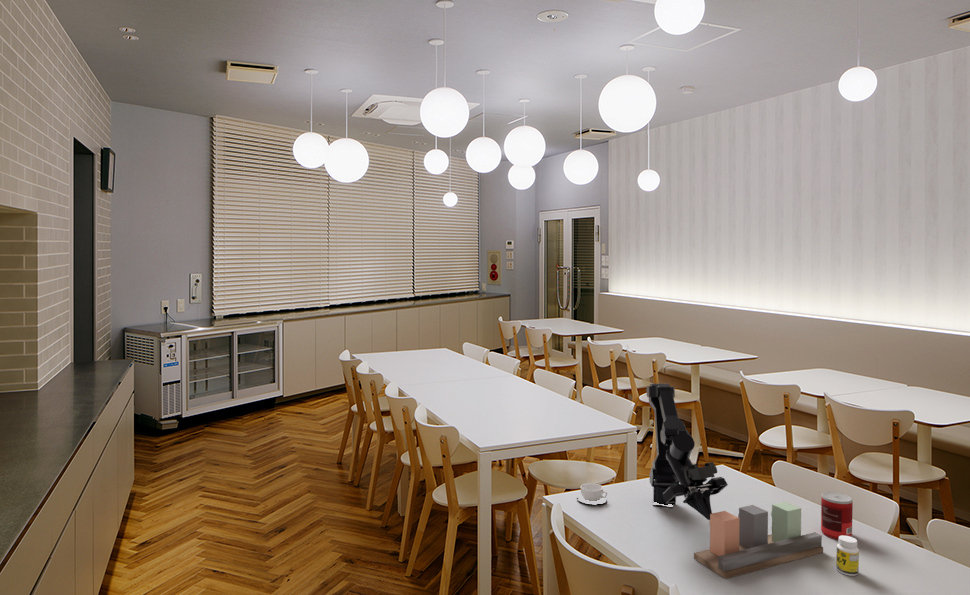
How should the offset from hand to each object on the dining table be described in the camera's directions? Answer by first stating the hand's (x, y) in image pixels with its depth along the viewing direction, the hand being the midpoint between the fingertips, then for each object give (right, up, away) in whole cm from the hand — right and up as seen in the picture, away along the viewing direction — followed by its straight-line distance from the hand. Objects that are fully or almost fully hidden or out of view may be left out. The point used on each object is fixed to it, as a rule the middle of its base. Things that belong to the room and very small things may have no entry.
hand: (710, 519), depth 156 cm
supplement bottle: (+30, -9, -11) cm, 33 cm away
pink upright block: (+2, -7, -4) cm, 9 cm away
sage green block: (+21, -7, +2) cm, 22 cm away
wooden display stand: (+12, -9, -2) cm, 15 cm away
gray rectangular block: (+11, -7, 0) cm, 13 cm away
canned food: (+40, -8, +10) cm, 42 cm away
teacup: (-25, -8, +37) cm, 45 cm away
